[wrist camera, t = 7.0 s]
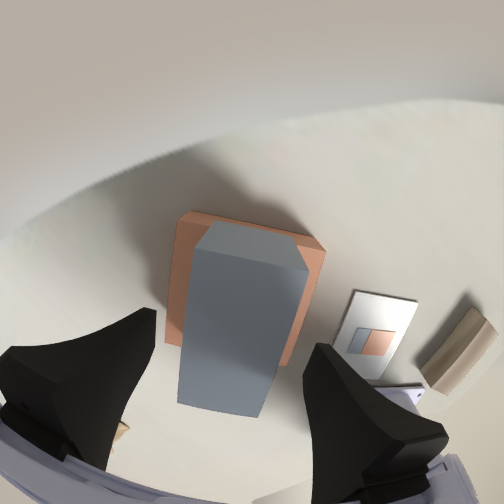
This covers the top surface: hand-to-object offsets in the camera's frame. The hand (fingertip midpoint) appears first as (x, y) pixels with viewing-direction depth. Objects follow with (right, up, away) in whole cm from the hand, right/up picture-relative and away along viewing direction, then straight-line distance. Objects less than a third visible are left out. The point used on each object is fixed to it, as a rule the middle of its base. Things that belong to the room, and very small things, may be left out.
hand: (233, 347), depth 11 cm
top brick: (0, +2, +4) cm, 4 cm away
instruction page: (+10, -3, +8) cm, 13 cm away
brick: (+21, -5, +9) cm, 23 cm away
